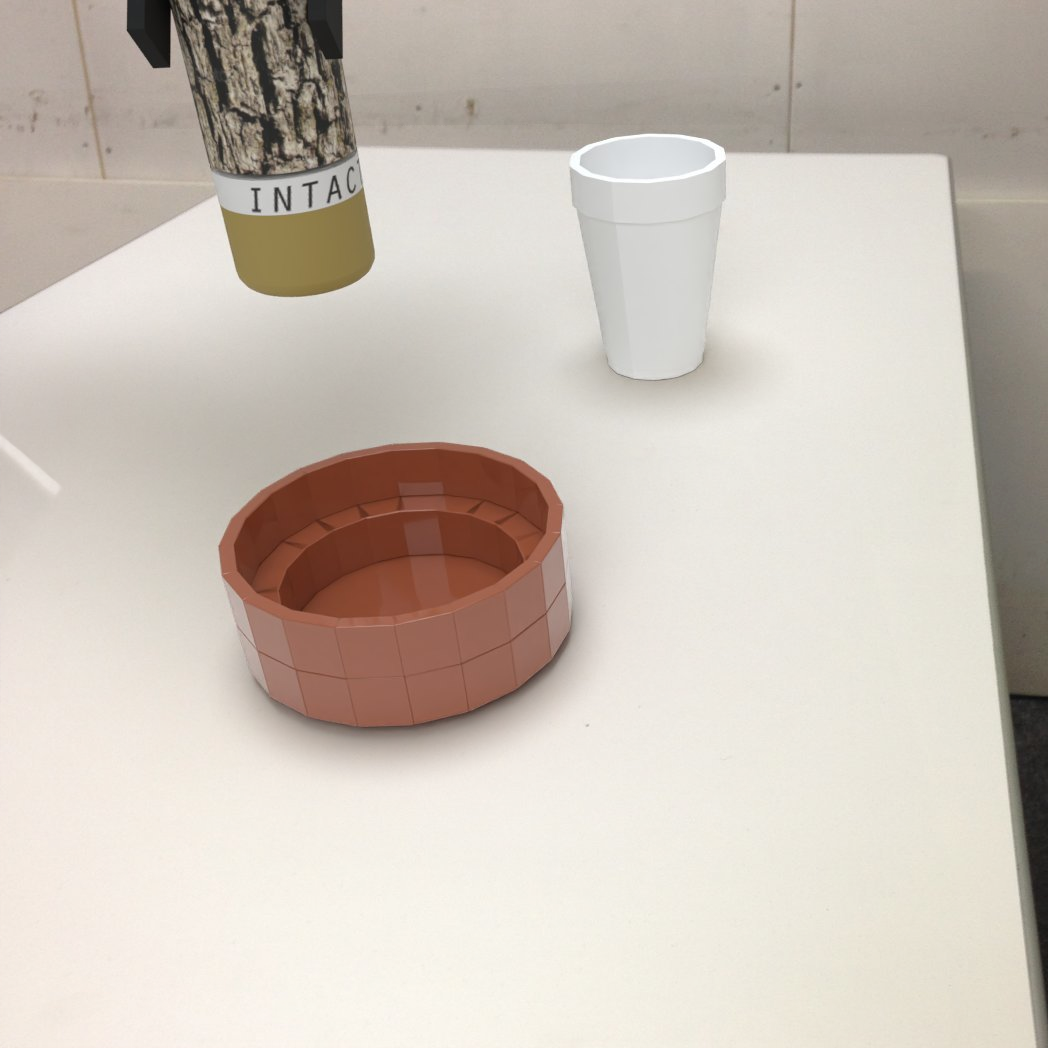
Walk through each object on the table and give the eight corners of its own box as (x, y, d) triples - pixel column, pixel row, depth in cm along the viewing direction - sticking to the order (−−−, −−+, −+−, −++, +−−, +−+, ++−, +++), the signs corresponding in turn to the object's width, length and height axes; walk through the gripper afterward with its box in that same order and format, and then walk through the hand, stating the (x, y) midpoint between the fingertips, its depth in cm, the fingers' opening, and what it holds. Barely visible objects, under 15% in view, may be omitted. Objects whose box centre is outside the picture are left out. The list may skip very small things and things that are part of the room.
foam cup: (738, 333, 87) (738, 135, 79) (713, 395, 80) (711, 185, 72) (603, 325, 89) (590, 132, 81) (567, 385, 82) (549, 179, 74)
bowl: (212, 743, 56) (176, 633, 52) (289, 548, 68) (263, 448, 64) (565, 731, 55) (553, 619, 52) (578, 537, 68) (569, 436, 64)
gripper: (472, -374, 60) (484, 83, 57) (58, -350, 61) (48, 105, 58) (444, -540, 53) (456, -25, 50) (-28, -512, 53) (-45, 1, 50)
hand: (237, 44), depth 54 cm, fingers closed on paper tube, 7 cm apart
